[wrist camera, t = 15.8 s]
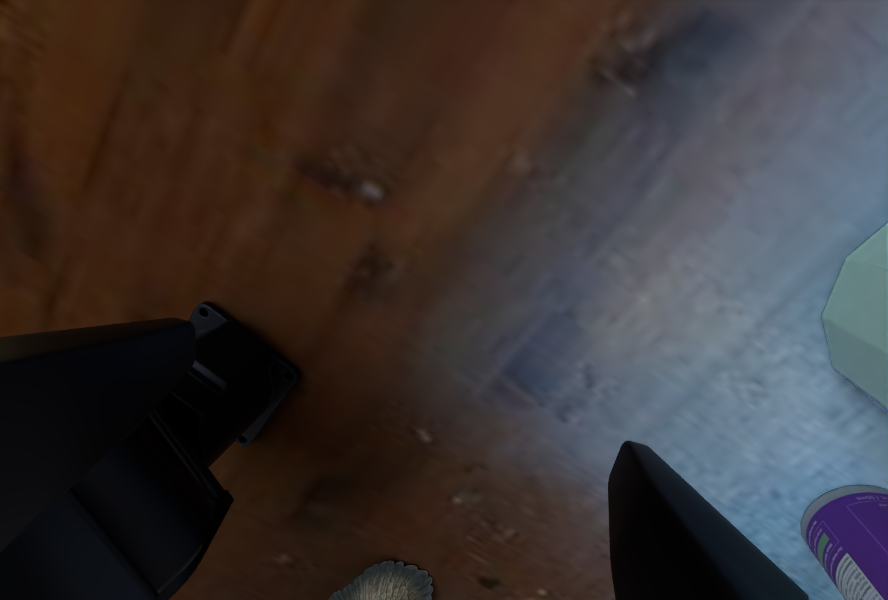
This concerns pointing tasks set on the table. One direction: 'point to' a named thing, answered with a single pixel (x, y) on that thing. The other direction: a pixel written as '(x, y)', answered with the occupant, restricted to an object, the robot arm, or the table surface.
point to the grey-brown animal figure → (388, 584)
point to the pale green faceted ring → (861, 318)
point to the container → (851, 539)
